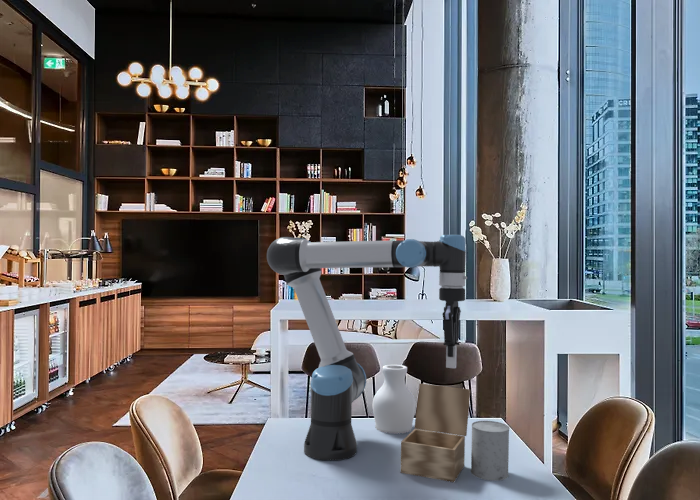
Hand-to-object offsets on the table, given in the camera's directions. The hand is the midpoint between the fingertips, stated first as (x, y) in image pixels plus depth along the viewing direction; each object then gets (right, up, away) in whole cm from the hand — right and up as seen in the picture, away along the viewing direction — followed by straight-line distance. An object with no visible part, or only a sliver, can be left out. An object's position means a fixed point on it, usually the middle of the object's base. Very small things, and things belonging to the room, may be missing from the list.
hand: (451, 367), depth 163 cm
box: (-8, -23, -17) cm, 30 cm away
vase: (-15, -24, +18) cm, 34 cm away
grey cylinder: (+7, -24, -19) cm, 31 cm away
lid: (-4, -10, -9) cm, 14 cm away
